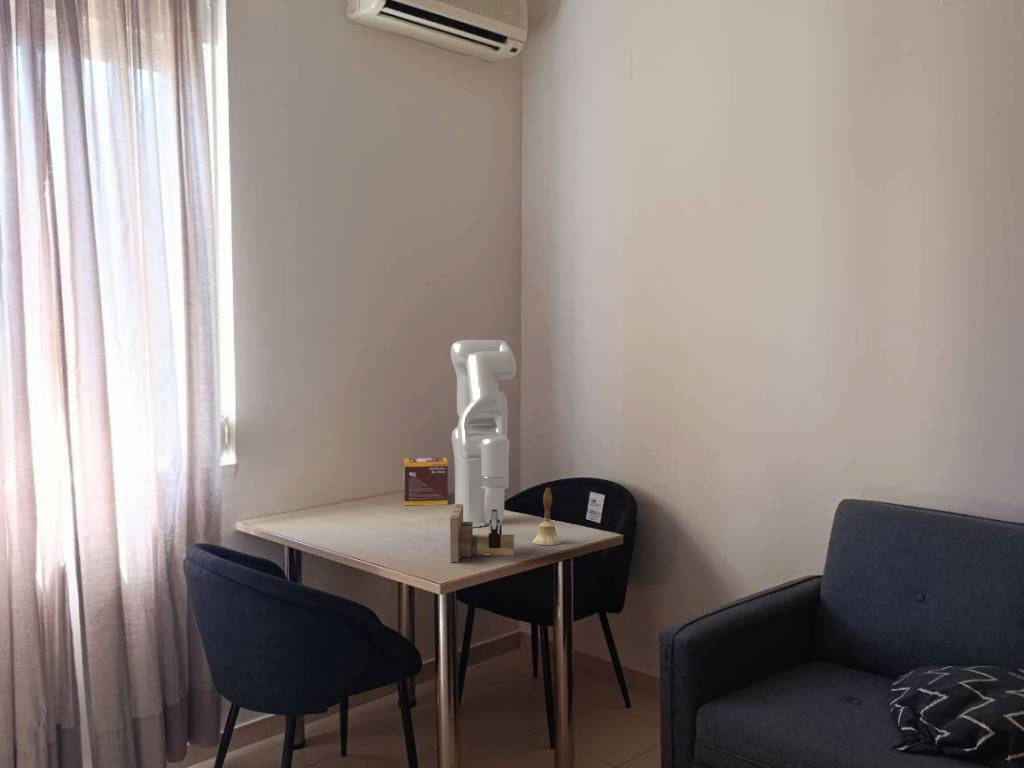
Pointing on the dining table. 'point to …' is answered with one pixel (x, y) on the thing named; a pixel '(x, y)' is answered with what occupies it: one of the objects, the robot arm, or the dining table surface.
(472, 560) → the dining table surface
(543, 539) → the hand bell
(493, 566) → the dining table surface
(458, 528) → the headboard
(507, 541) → the tan and gray block
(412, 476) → the supplement box
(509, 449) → the robot arm
